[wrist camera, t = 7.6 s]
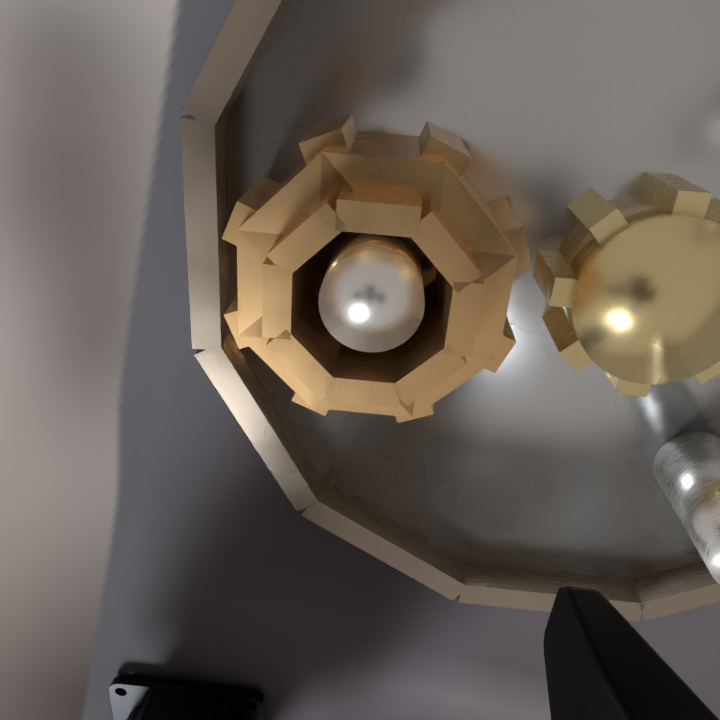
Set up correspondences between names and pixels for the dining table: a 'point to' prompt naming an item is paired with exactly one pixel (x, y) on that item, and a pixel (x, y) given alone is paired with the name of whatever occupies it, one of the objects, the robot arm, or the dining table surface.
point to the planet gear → (383, 217)
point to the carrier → (528, 294)
